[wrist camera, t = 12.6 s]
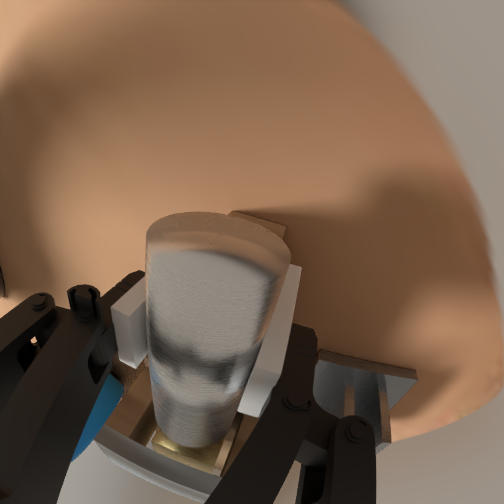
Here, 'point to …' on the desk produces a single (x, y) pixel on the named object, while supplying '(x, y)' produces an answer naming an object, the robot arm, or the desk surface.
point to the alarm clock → (100, 412)
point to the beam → (144, 424)
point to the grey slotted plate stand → (361, 390)
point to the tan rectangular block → (187, 452)
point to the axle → (207, 317)
